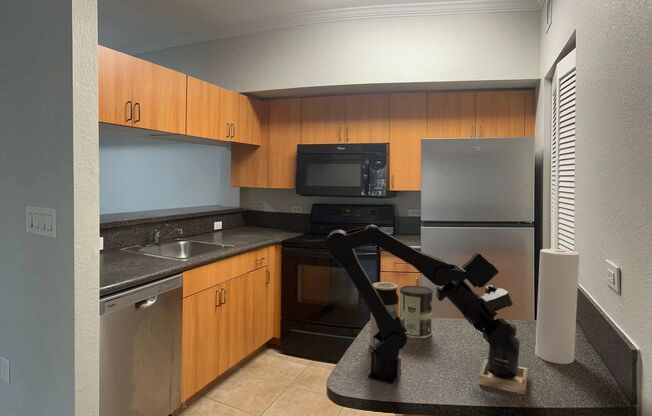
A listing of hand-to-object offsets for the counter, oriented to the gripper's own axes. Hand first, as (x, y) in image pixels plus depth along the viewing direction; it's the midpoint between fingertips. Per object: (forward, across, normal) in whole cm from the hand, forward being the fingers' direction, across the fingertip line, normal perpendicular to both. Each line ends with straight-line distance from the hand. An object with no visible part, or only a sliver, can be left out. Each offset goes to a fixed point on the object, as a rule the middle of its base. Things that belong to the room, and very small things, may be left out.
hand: (509, 346), depth 100 cm
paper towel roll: (+19, +15, -7) cm, 26 cm away
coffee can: (-6, +31, +18) cm, 36 cm away
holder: (+5, 0, +7) cm, 8 cm away
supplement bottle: (+4, 0, +6) cm, 7 cm away
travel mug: (-14, +20, +26) cm, 35 cm away
